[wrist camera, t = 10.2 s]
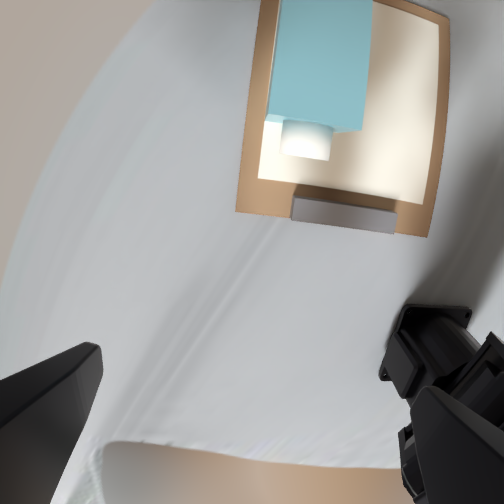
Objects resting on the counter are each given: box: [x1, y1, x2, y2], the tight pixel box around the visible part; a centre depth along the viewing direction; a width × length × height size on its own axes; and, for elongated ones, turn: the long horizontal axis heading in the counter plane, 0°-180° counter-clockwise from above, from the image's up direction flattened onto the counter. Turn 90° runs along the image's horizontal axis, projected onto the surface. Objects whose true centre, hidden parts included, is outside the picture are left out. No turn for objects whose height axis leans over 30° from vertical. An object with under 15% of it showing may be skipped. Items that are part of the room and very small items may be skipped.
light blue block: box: [265, 0, 373, 161], centre depth 13 cm, size 10×4×4 cm, turn 173°
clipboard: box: [235, 0, 450, 238], centre depth 15 cm, size 12×15×1 cm
